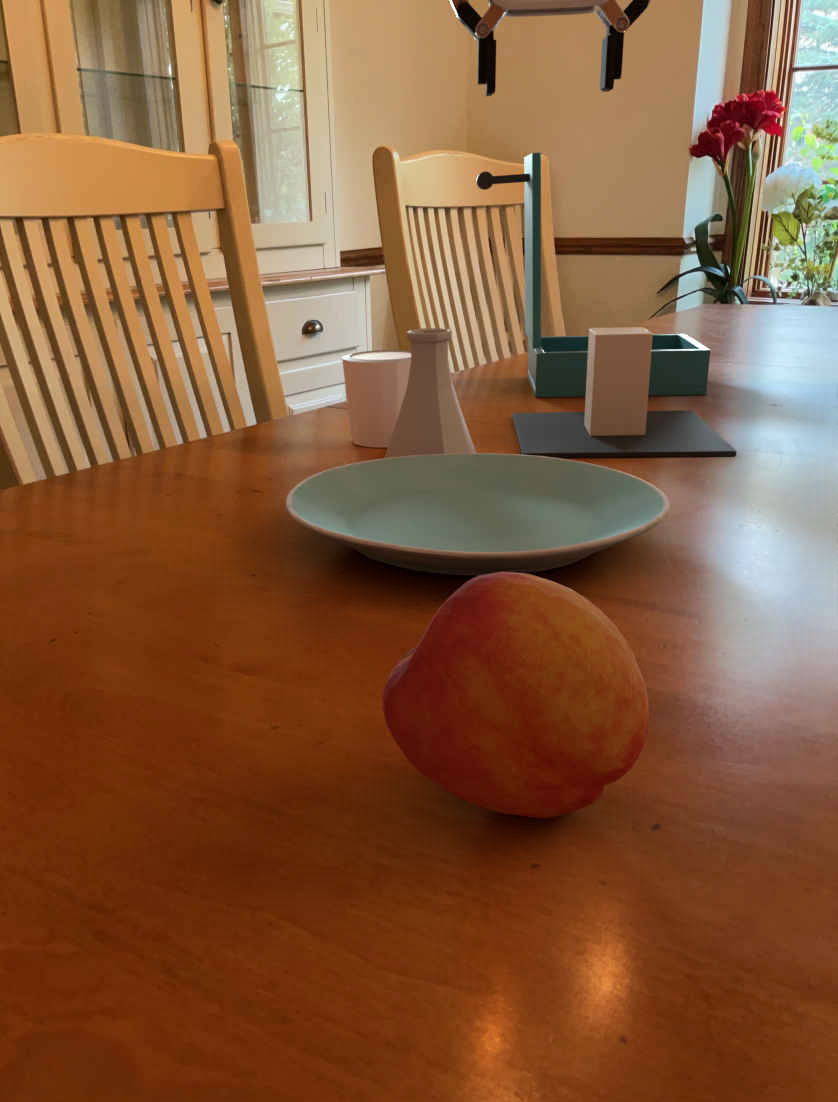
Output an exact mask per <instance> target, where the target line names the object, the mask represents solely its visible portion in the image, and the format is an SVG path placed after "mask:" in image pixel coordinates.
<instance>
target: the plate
mask: <svg viewBox="0 0 838 1102" xmlns="http://www.w3.org/2000/svg"><path fill="white" fill-rule="evenodd" d="M284 504H285V510H286V513H287V514H288V515H289V517H290V518H291V519H292V520H293V521H294V522H296V523H297V524H299V526H301V527H302V528H304V529H306V530H309V531H310V532H312V533H315V534H318V535H320V536H323V537H325V538H328V539H329V540H331V541H334V542H336V543H338V544H340V545H342V546H344V547H347V548H350V549H352V550H355V551H357V552H358V553H360V554H362V555H364V556H365V557H367V558H369V559H372V560H375V561H377V562H381V563H383V564H387V565H390V566H394V567H399V568H403V569H407V570H411V571H412V570H413V571H418V572H425V573H431V574H440V575H441V574H442V575H443V574H444V575H451V576H453V575H454V576H475V577H477V576H480V575H485V574H491V573H497V572H513V573H524V574H530V573H536V572H537V573H538V572H544V571H549V570H552V569H557V568H561V567H564V566H568V565H572V564H573V563H576V562H579V561H581V560H583V559H586V558H588V557H589V556H590V555H593V554H594V553H597V552H600V551H603V550H606V549H607V548H611V547H612V546H615V545H618V544H619V543H621V542H623V541H627V540H630V539H632V538H635V537H638V536H640V535H642V534H644V533H646V532H649V531H650V530H652V529H654V528H655V527H657V526H658V525H660V524H661V523H662V522H663V521H664V520H665V519H666V517H668V514H669V513H670V511H671V509H670V508H671V503H670V500H669V499H668V497H667V495H666V494H665V493H664V492H663V491H662V490H661V489H660V488H658V487H657V486H655V485H654V484H652V483H651V482H648V481H646V480H645V479H642V478H640V477H638V476H635V475H633V474H630V473H628V472H624V471H622V470H618V469H615V468H611V467H607V466H603V465H600V464H594V463H589V462H585V461H579V460H573V459H569V458H553V457H545V456H534V455H522V454H521V453H520V454H518V453H495V452H494V453H491V452H490V453H488V452H485V453H484V452H480V453H479V452H476V453H455V454H429V455H413V456H402V457H392V458H385V457H384V458H383V457H382V458H377V459H376V458H375V459H369V460H364V461H357V462H353V463H348V464H344V465H339V466H336V467H332V468H329V469H325V470H323V471H319V472H317V473H315V474H313V475H310V476H308V477H306V478H305V479H302V481H300V482H299V483H297V484H296V485H294V487H293V488H292V489H291V490H290V491H289V493H288V494H287V496H286V498H285V503H284Z"/></svg>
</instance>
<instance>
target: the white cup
mask: <svg viewBox="0 0 838 1102" xmlns="http://www.w3.org/2000/svg"><path fill="white" fill-rule="evenodd" d="M341 360H342V369H343V378H344V386H345V392H346V393H345V394H346V402H347V410H348V418H349V425H350V433H351V441H352V443H353V444H354V445H357V446H360V447H367V448H379V449H380V448H381V449H382V448H388V446H389V443H390V440H391V437H392V434H393V431H394V428H395V425H396V422H397V419H398V416H399V412H400V409H401V406H402V402H403V399H404V396H405V393H406V389H407V385H408V378H409V372H410V365H411V350H406V349H405V350H404V349H377V350H375V349H374V350H364V351H359V352H354V353H349V354H345V355H342V356H341Z"/></svg>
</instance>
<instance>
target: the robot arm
mask: <svg viewBox="0 0 838 1102" xmlns="http://www.w3.org/2000/svg"><path fill="white" fill-rule="evenodd" d="M449 1H450V4H451V6H452V9H453V10H454V13H455V15H456V18H457V20H458V21H459V22H460V23H461V24H462V26H463V27H465V29H466V30H467V31H468V33H470V35H472V37H473V38H474V39H475V41H476V42H477V86H478V85H485V86H484V87H485V88H484V89H485V92H484V96H485V97H492V96H493V95H494V94H495V93H496V86H497V85H496V84H497V82H496V80H497V79H496V78H497V76H496V75H497V39H495V35H494V33H495V30H496V28H497V27H498V25H499V24H500V23H501V22H502V20H503V19H504V17H506V18H525V17H526V18H527V17H551V16H572V15H573V16H574V15H588V14H593V13H595V15H596V17H597V18H598V19H599V21H600V22H601V23H602V24H603V26H604V28H605V29H606V33H605V37H604V38H602V42H601V55H600V57H601V58H600V74H599V75H600V76H599V77H600V78H599V91H601V92H602V93H605V92H606V93H608V92H610V91H612V90H613V89H614V85H615V80H616V81H617V80H621V78H622V74H623V57H624V44H625V43H624V41H625V33H626V32H627V30H628V29H629V28H630V27H631V26H632V25H633V24H634V23H635V22H636V21H637V19H638V18H639V17H640V16H641V15H642V14H643V13H644V12H645V11H646V10H647V9H648V7H649V4H650V2H651V0H632V1H631V2H630V3H629V4H628V5H627V6H626V7H625V8H624V9H622V8H621V6H620V5H619V3H618V2H617V0H487V1H488V7H489V8H488V9H487V10H486V12H485V13H484V15H483V16H481V15H480V14H479V13H478V12H477V10H476V9H475V8H474V7H473V6H472V5H471V3H470V2H469V0H449Z"/></svg>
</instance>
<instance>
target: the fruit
mask: <svg viewBox="0 0 838 1102" xmlns="http://www.w3.org/2000/svg"><path fill="white" fill-rule="evenodd" d="M381 697H382V712H383V715H384V719H385V723H386V726H387V729H388V730H389V732H390V734H391V736H392V738H393V740H394V742H395V744H396V745H397V746H398V747H399V749H400V751H401V752H402V754H403V755H404V757H405V758H406V759H407V761H408V762H409V764H411V765H412V766H413V767H414V768H415V769H416V770H417V771H418V772H419V773H420V774H422V775H423V776H424V777H426V778H427V779H428V780H430V781H432V782H433V783H434V784H436V785H437V786H438V787H441V789H444V790H445V791H447V792H448V793H449V794H451V795H453V796H455V797H457V798H459V799H461V800H463V801H466V802H468V803H470V804H471V805H474V806H477V807H480V808H483V809H485V810H488V811H492V812H495V813H498V814H504V815H505V814H506V815H513V816H519V817H528V818H535V819H547V818H548V819H549V818H556V817H560V816H563V815H566V814H569V813H573V812H576V811H579V810H581V809H584V808H587V807H589V806H592V805H593V804H594V803H595V802H597V800H598V799H599V798H600V797H601V796H602V795H603V792H604V787H605V786H606V785H609V784H612V783H615V782H617V781H618V780H619V779H621V778H622V777H624V776H625V775H626V774H627V773H628V772H629V771H631V770H632V768H633V767H634V765H635V764H636V762H637V761H638V759H639V757H640V755H641V753H642V751H643V748H644V745H645V742H646V738H647V735H648V727H649V711H650V709H649V708H650V705H649V699H648V692H647V686H646V682H645V680H644V676H643V674H642V672H641V669H640V667H639V664H638V662H637V659H636V657H635V654H634V652H633V650H632V648H631V647H630V645H629V643H628V642H627V640H626V637H624V635H623V634H622V633H621V632H620V630H619V629H618V628H617V626H616V625H615V624H614V622H613V621H611V619H610V618H609V617H608V616H607V615H606V614H605V613H604V612H603V611H602V610H601V609H600V608H599V607H597V606H596V605H595V604H593V603H592V602H591V601H590V600H589V599H587V598H586V597H584V596H582V594H579V593H578V592H577V591H575V590H574V589H572V588H569V587H567V586H565V585H563V584H560V583H558V582H555V581H553V580H550V579H546V578H543V577H540V576H537V575H533V574H530V573H513V572H497V573H491V574H485V575H480V576H475V577H473V578H471V579H469V580H467V581H466V582H464V583H463V584H462V585H461V586H460V587H458V588H457V589H456V590H455V591H454V592H453V593H452V594H451V595H450V596H449V597H448V598H447V599H446V600H445V601H444V602H443V603H442V604H441V605H440V607H439V608H438V610H437V611H436V613H435V614H434V616H433V617H432V619H431V621H430V622H429V623H428V625H427V627H426V628H425V629H424V632H423V634H422V636H421V638H420V640H419V642H418V643H417V645H416V646H414V647H413V648H412V649H410V650H409V651H408V652H407V653H405V654H404V655H403V656H401V658H400V659H399V660H398V661H397V662H396V664H395V665H394V667H393V668H392V669H391V672H390V674H389V675H388V678H387V680H386V681H385V685H384V688H383V691H382V696H381Z"/></svg>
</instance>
